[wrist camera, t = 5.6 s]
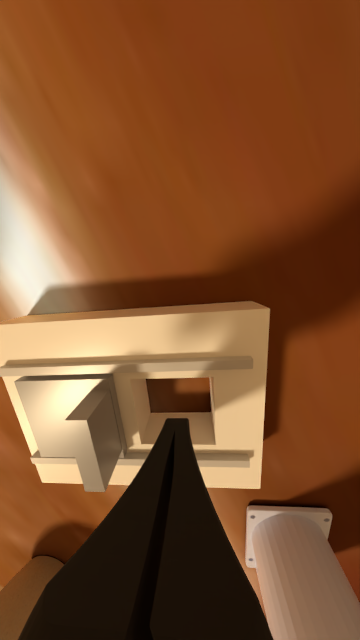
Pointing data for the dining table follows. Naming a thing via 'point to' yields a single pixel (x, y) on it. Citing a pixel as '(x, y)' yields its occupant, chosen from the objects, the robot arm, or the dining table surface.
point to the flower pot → (24, 594)
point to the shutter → (76, 422)
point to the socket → (154, 363)
